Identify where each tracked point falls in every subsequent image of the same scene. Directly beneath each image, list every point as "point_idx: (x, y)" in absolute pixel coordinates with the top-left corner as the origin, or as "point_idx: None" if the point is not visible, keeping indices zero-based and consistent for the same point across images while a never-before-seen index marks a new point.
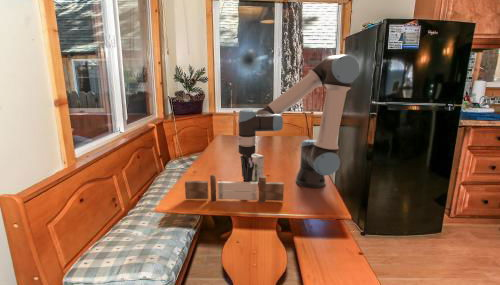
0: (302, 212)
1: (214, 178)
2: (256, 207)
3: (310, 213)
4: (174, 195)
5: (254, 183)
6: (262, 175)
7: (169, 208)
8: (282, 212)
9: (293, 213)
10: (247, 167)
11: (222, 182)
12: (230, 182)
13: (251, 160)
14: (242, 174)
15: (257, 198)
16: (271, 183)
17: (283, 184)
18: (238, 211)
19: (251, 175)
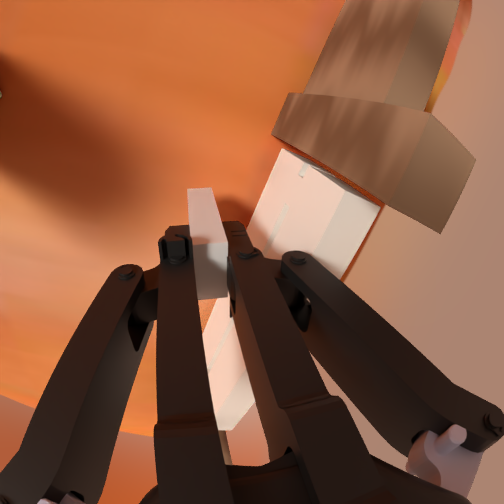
0: (455, 21)
1: (230, 458)
2: (353, 184)
3: (465, 6)
4: (136, 428)
5: (360, 235)
6: (414, 158)
7: (226, 431)
8: (436, 91)
9: (454, 57)
10: (399, 436)
11: (234, 417)
12: (251, 390)
13: (464, 496)
14: (136, 333)
15: (313, 162)
16: (426, 74)
17: (457, 3)
18: (346, 275)
19: (356, 308)
